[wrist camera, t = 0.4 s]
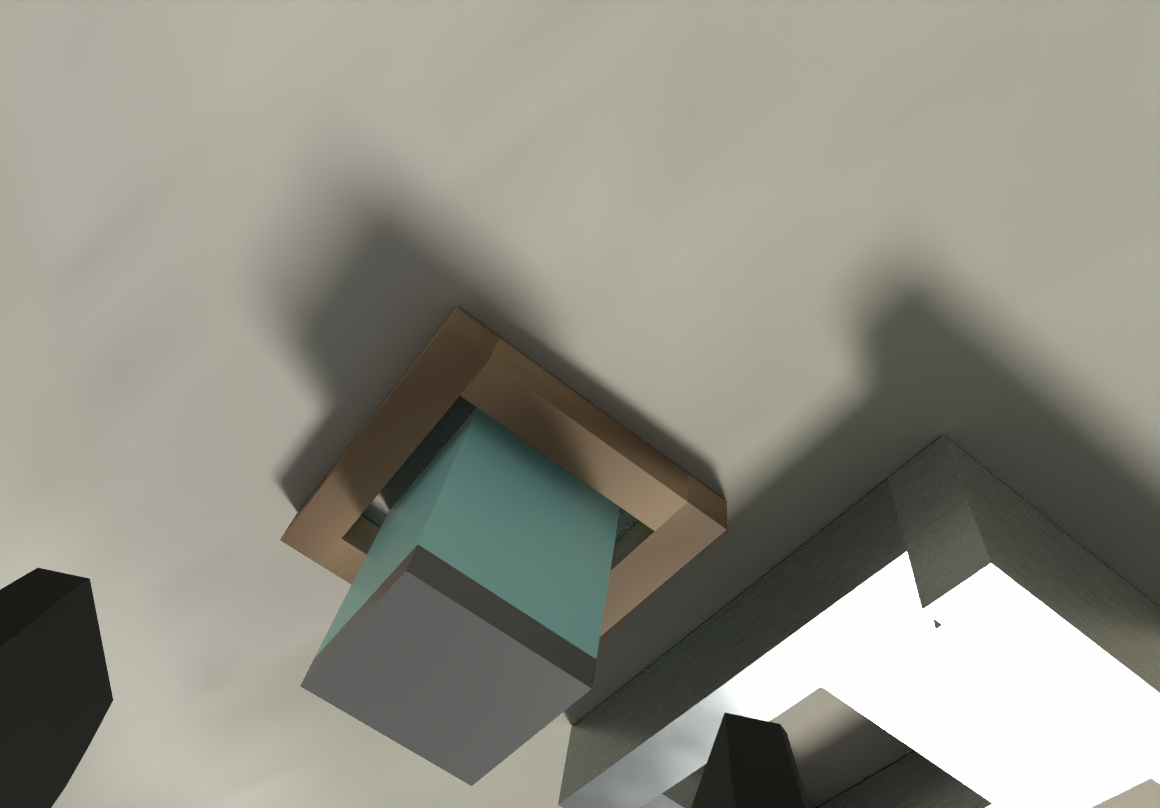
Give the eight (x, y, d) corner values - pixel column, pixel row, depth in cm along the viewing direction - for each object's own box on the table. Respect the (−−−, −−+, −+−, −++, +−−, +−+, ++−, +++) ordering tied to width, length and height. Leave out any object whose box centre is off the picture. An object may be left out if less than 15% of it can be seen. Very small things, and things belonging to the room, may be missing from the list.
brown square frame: (726, 501, 20) (726, 529, 20) (537, 665, 24) (531, 695, 23) (456, 306, 19) (443, 327, 18) (296, 514, 22) (280, 540, 22)
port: (1201, 642, 21) (1295, 797, 17) (795, 866, 27) (806, 1011, 24) (942, 434, 19) (990, 562, 15) (571, 727, 25) (547, 864, 22)
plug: (621, 502, 21) (591, 688, 16) (522, 595, 23) (471, 786, 18) (479, 403, 20) (406, 570, 15) (390, 509, 22) (300, 686, 17)
